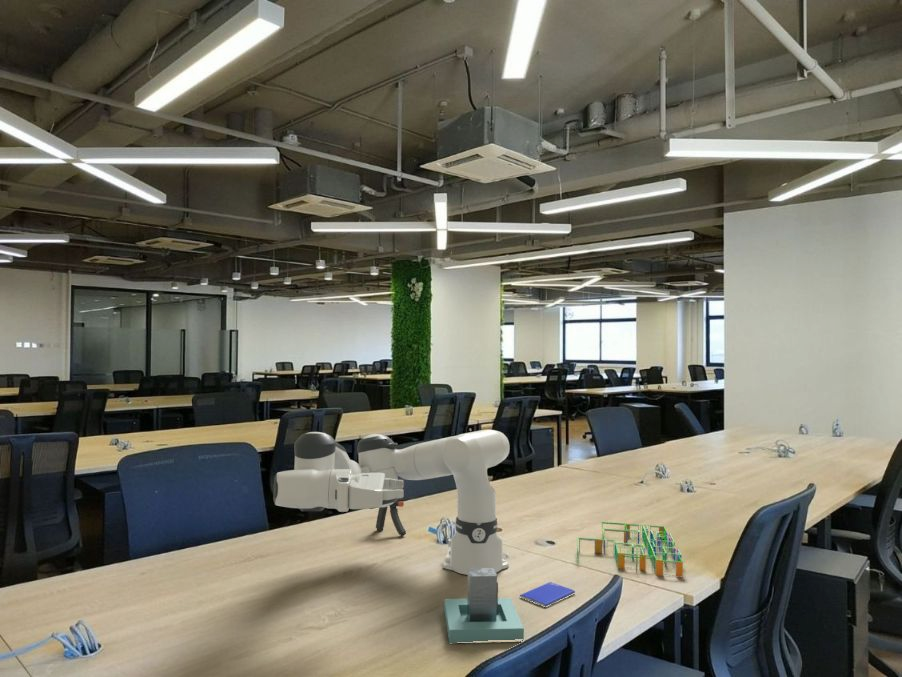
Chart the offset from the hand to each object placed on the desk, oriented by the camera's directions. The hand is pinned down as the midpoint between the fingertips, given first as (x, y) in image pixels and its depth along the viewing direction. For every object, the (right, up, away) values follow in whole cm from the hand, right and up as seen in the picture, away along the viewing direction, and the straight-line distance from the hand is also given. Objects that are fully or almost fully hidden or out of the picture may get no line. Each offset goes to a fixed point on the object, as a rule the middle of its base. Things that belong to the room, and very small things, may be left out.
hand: (403, 488), depth 142 cm
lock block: (+18, -29, -4) cm, 34 cm away
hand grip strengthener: (-9, -31, +64) cm, 72 cm away
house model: (+65, -32, +48) cm, 87 cm away
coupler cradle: (+18, -30, -4) cm, 35 cm away
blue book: (+36, -31, +13) cm, 50 cm away
